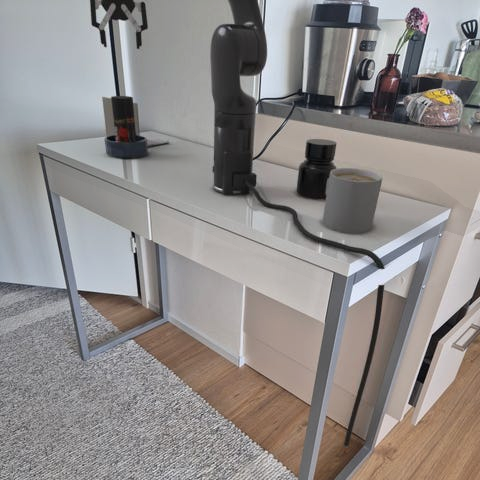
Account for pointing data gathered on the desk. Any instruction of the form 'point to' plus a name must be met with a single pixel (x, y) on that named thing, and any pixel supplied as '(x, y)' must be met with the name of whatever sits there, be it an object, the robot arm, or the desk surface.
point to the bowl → (126, 147)
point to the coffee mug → (351, 200)
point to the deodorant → (123, 118)
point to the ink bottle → (316, 168)
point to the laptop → (110, 121)
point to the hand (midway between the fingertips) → (122, 47)
